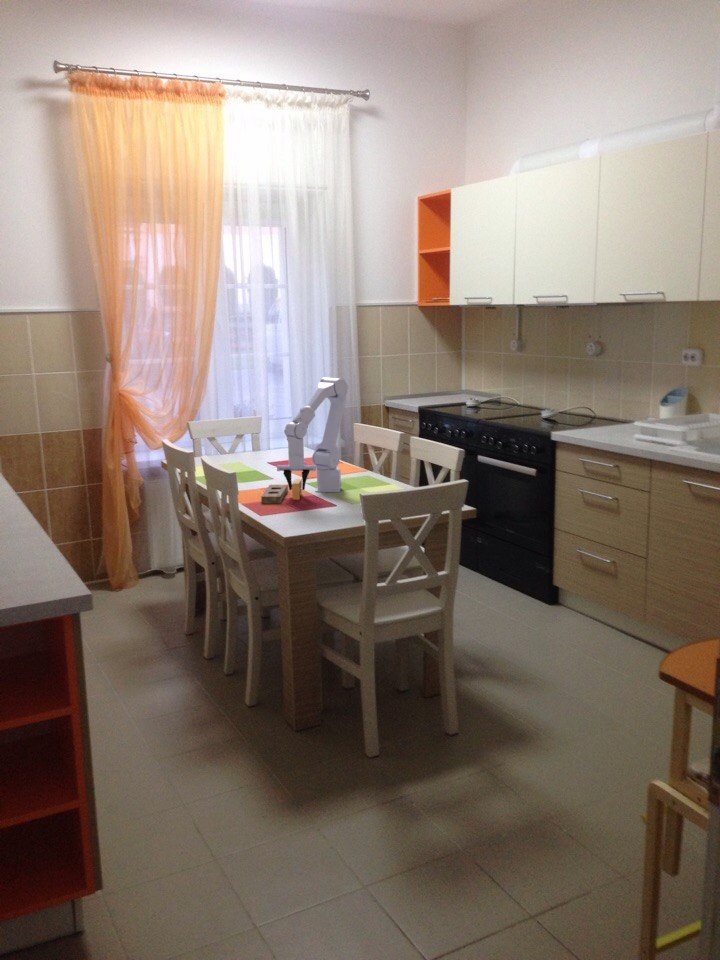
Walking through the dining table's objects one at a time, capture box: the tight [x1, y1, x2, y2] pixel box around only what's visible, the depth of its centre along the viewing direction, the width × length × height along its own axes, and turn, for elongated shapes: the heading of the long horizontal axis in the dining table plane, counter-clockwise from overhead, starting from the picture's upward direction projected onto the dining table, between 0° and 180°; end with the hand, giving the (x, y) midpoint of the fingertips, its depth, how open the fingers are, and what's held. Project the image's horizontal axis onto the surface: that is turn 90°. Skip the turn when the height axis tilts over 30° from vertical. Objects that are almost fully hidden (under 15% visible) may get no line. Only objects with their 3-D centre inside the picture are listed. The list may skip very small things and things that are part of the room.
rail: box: [260, 484, 289, 504], centre depth 314 cm, size 7×20×2 cm, turn 177°
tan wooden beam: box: [291, 478, 303, 501], centre depth 313 cm, size 2×10×6 cm, turn 177°
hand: (297, 489), depth 313 cm, fingers open, 4 cm apart
